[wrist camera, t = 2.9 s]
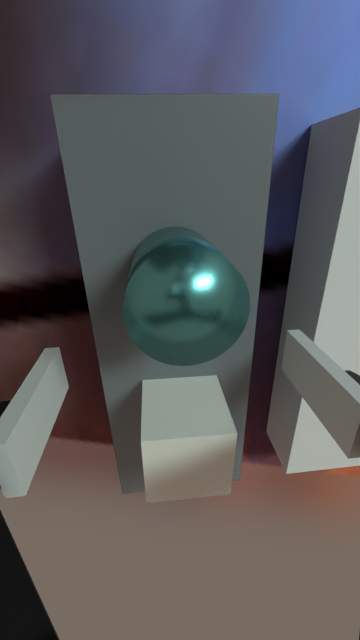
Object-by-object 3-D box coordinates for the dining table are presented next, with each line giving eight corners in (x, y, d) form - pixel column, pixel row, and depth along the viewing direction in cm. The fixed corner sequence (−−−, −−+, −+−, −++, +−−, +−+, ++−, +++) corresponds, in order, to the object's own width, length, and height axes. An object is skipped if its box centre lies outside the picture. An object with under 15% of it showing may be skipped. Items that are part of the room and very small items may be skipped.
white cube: (142, 379, 17) (140, 441, 13) (216, 375, 17) (237, 433, 13) (146, 434, 19) (146, 503, 15) (213, 429, 19) (230, 494, 15)
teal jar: (126, 228, 13) (115, 252, 9) (219, 224, 14) (255, 244, 9) (135, 315, 15) (130, 370, 11) (217, 309, 15) (245, 360, 11)
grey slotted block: (88, 129, 18) (50, 94, 11) (228, 127, 19) (279, 93, 12) (128, 415, 28) (122, 493, 21) (217, 407, 29) (240, 480, 22)
